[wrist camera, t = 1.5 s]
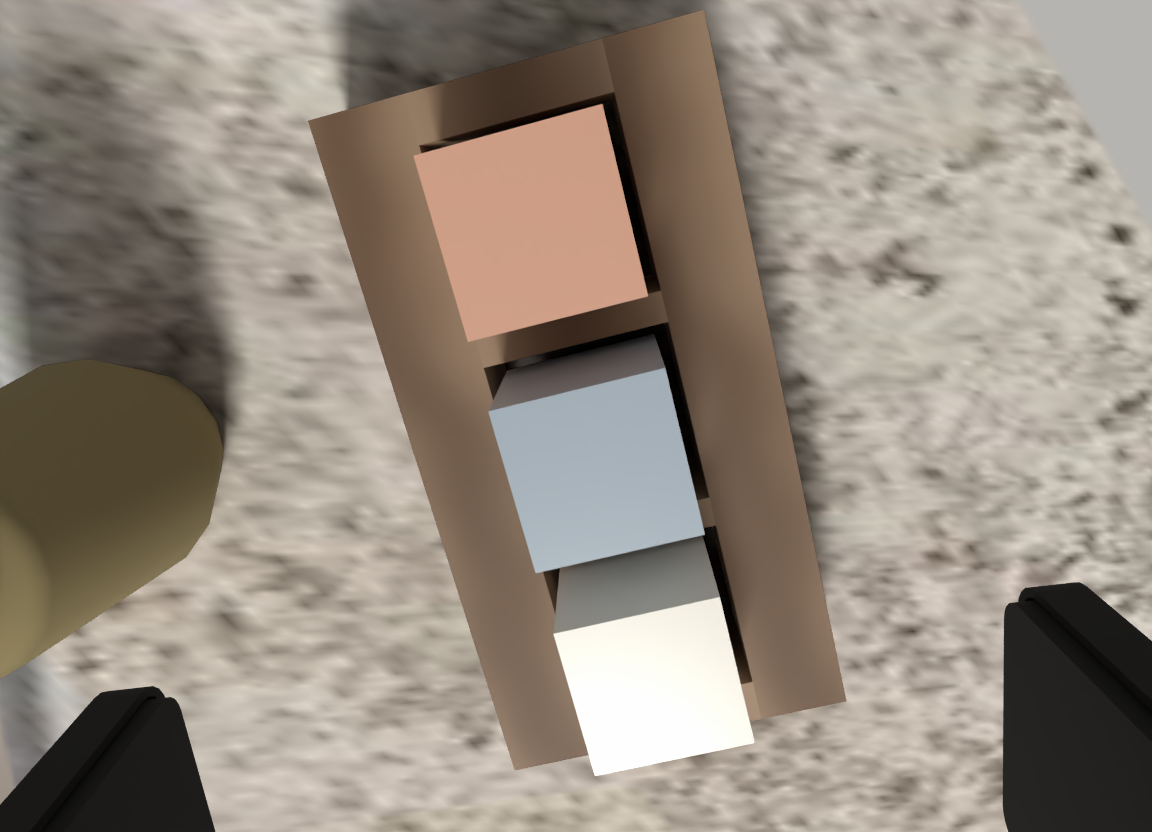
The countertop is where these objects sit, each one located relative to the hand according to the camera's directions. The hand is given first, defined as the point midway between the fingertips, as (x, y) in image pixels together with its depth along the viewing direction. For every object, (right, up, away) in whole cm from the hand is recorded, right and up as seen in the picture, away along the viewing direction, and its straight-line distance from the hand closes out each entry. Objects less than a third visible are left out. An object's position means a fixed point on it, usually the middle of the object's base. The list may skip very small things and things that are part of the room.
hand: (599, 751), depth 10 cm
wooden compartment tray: (+1, +4, +23) cm, 24 cm away
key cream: (+2, -3, +22) cm, 22 cm away
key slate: (+1, +3, +20) cm, 21 cm away
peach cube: (-1, +10, +19) cm, 21 cm away
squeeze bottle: (-16, +3, +25) cm, 30 cm away
